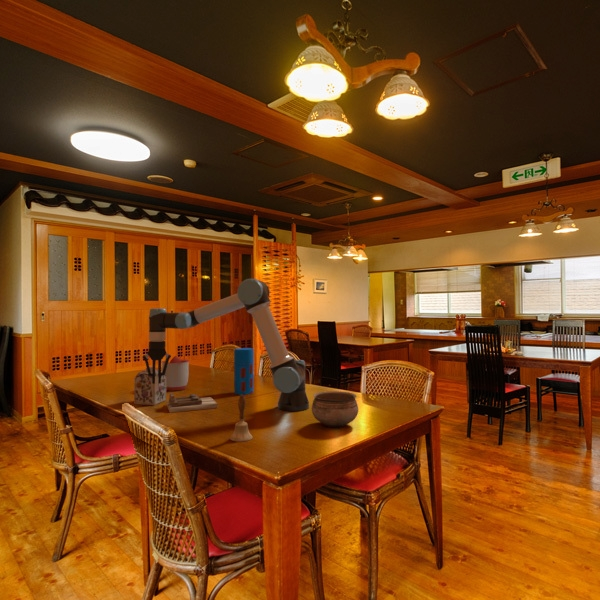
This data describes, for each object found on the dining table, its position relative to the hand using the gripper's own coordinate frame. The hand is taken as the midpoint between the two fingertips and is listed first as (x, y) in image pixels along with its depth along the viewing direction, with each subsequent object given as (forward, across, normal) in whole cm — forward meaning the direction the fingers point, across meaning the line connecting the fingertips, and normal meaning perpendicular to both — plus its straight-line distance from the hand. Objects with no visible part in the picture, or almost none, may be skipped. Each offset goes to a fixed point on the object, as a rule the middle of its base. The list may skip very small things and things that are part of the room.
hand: (156, 390), depth 189 cm
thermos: (+9, -48, -21) cm, 53 cm away
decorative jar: (+10, +2, -18) cm, 20 cm away
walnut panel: (+7, -13, 0) cm, 15 cm away
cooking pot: (+8, -65, +57) cm, 87 cm away
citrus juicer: (+10, -13, -49) cm, 52 cm away
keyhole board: (+9, -16, 0) cm, 19 cm away
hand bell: (+9, -26, +57) cm, 64 cm away
